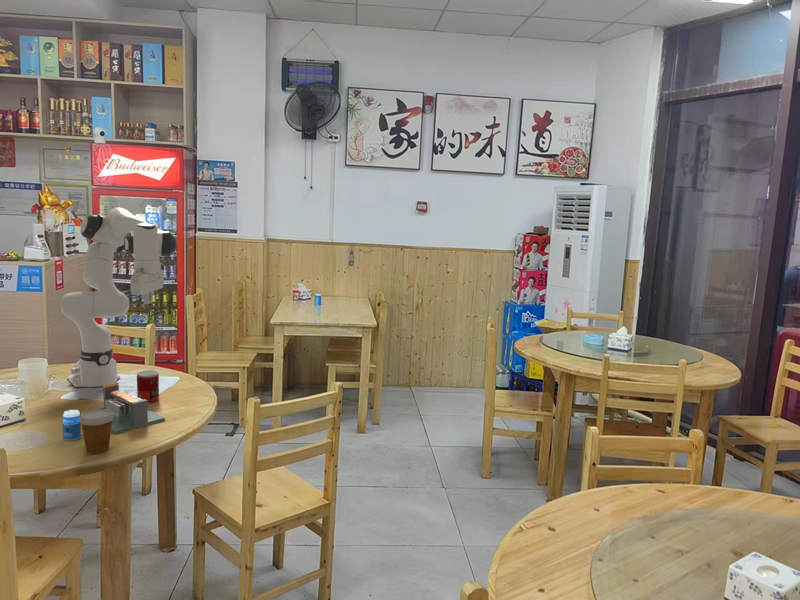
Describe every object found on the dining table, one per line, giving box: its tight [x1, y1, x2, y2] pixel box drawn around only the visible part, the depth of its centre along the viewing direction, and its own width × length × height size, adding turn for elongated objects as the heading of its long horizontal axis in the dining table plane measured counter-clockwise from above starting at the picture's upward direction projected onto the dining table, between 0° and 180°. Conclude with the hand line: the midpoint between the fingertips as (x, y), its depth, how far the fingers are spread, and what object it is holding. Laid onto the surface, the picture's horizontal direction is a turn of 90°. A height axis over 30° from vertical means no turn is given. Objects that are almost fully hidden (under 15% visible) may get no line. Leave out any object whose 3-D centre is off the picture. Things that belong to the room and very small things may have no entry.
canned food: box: [136, 370, 160, 404], centre depth 231 cm, size 8×8×11 cm
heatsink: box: [105, 393, 142, 423], centre depth 211 cm, size 10×10×6 cm
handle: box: [109, 389, 139, 404], centre depth 210 cm, size 17×3×2 cm, turn 52°
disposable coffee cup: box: [78, 408, 114, 455], centre depth 184 cm, size 10×10×12 cm
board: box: [101, 381, 166, 435], centre depth 211 cm, size 24×18×11 cm
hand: (147, 303), depth 223 cm, fingers closed
